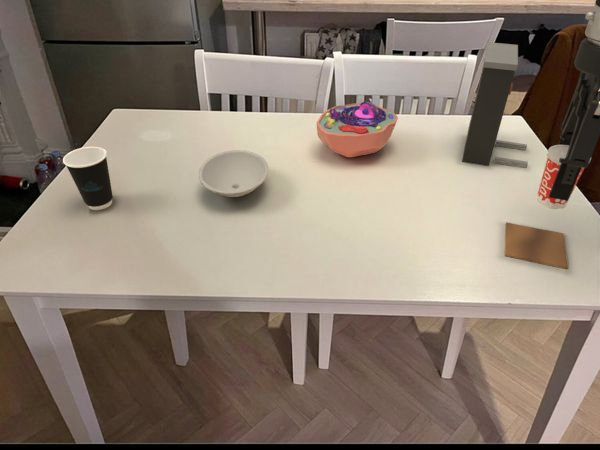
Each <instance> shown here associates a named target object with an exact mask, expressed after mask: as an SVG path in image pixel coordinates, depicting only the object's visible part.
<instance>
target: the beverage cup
mask: <svg viewBox="0 0 600 450" xmlns="http://www.w3.org/2000/svg"><path fill="white" fill-rule="evenodd" d="M568 148H569V145H558V144H555V145H552V146H549V148H548V149H547V154H546V156H547V158H546V162H545V166H544V170H543V172H542V176H541V180H540V184H539V187H538V190H537V194H536V197H535V199H536V202H537V203H538V204H539V205H541V206H543V207H545V208H548V209H552V210H562V209H564V208H566V205H567V204H568V203H569V200H570V198H571V196H572V194H573V192H574V190H575V188H576V185H577V184H578V182H579V180H580V178H581V176H582V174H583V172H584V170H585V168H581V170H580V173H579V175H578V178H577V180H576V183H575V185H574V187H573V190H572V192H571V195H570V197H569V199H568V201H566V200H561V199H555V198H549V194H550V191H551V189H552V186H553V183H554V181H555V178H556V175H557V173H558V170H559V168H560V165H561V163H560V162H559V159H560V158H564V159H565V158H566V155H567V151H568ZM591 160H592V157H591V158H590V161H589V163H591Z"/></svg>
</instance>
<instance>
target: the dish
mask: <svg viewBox="0 0 600 450" xmlns="http://www.w3.org/2000/svg"><path fill="white" fill-rule="evenodd" d="M269 172H270V167H269V164H268V162H267V161H266V159H264V158H263V157H262V156H261V155H260V154H258V153H256V152H253V151H249V150H244V149H232V150H225V151H222V152H218V153H216V154H214V155H212V156H210V157H208V158H207V159H206V160H205V161H204V162H203V163H202V164H201V165H200V168H199V170H198V179H199V182H200V183H201V185H202V186H203V187H204V188H205V189H207V190H209V191H210V192H213V193H215V194H217V195H219V196H222V197H228V198H238V197H243V196H245V195H248V194H250V193H251V192H254V190H255V189H257V188H258V187H259V186H261V185H262V184H263V183H264V182H265V181H266V179H267V178H268V176H269Z"/></svg>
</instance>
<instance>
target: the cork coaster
mask: <svg viewBox="0 0 600 450" xmlns="http://www.w3.org/2000/svg"><path fill="white" fill-rule="evenodd" d="M504 257H507V258H512V259H516V260H522V261H526V262H531V263H535V264H541V265H544V266H545V265H546V266H551V267H554V268H555V267H556V268H560V269H564V270H568V269H569V263H568V256H567V248H566V241H565V233H563V232H558V231H554V230H549V229H543V228H538V227H532V226H527V225H522V224H517V223H512V222H507V221H506V222H505V235H504Z"/></svg>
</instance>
